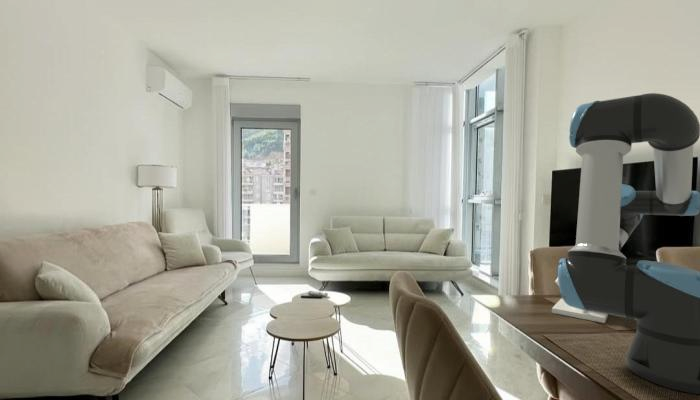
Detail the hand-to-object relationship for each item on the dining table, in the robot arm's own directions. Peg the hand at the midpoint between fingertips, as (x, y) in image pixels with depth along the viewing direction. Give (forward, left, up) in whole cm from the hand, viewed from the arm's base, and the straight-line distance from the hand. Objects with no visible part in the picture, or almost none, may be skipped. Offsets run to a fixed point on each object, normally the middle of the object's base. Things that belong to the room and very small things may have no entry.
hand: (576, 289), depth 114 cm
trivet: (+2, -1, -8) cm, 8 cm away
